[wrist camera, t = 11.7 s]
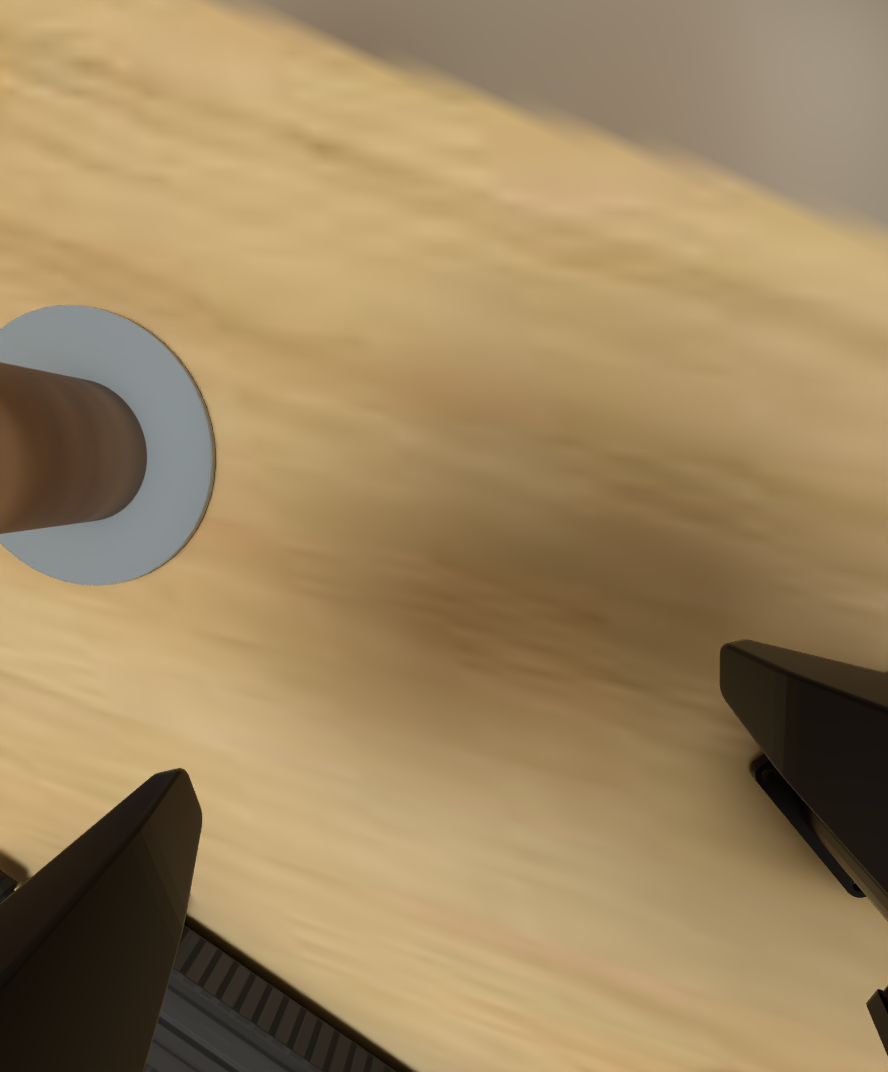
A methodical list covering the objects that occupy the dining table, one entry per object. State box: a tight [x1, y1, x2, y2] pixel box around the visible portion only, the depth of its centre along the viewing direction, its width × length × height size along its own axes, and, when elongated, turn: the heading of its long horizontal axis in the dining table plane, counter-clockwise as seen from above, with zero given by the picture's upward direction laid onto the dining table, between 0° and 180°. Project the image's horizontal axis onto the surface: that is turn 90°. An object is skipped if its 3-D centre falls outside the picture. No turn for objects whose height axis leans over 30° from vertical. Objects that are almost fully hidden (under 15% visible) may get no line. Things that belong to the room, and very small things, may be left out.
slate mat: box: [0, 305, 216, 586], centre depth 21 cm, size 11×11×1 cm
